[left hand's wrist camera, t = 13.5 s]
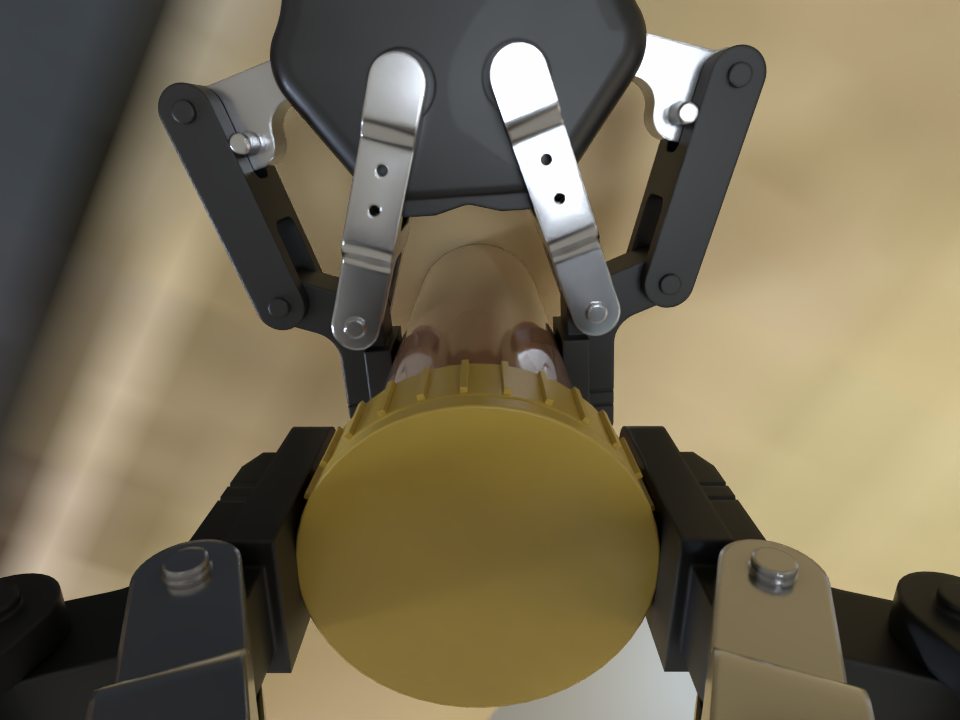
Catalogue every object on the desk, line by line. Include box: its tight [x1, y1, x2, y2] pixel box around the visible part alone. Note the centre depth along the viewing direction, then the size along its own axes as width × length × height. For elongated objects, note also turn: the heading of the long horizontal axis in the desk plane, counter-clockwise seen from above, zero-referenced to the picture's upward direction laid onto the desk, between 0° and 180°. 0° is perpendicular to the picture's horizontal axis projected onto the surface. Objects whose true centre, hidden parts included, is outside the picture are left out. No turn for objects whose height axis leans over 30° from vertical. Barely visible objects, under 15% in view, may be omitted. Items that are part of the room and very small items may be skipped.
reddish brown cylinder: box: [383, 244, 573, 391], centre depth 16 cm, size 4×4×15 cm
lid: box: [296, 359, 660, 708], centre depth 10 cm, size 6×6×2 cm
